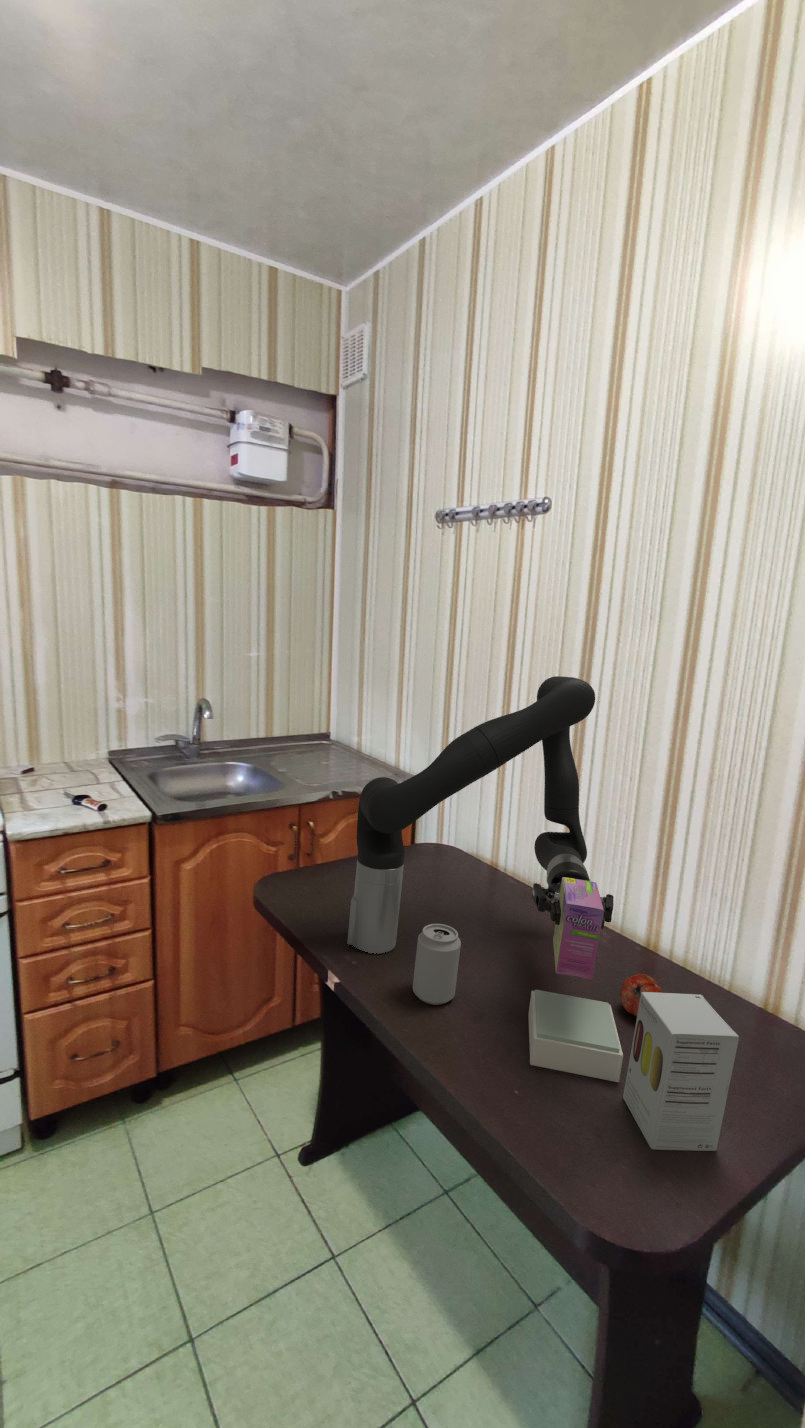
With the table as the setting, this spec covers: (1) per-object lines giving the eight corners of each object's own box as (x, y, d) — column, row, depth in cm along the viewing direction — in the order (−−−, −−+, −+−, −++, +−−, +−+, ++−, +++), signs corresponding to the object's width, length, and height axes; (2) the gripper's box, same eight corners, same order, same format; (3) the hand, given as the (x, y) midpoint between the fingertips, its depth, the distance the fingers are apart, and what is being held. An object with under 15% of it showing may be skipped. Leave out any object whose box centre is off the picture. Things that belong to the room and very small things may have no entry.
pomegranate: (625, 1009, 119) (602, 989, 113) (649, 977, 120) (627, 956, 114) (657, 1037, 113) (635, 1018, 107) (682, 1003, 114) (661, 983, 108)
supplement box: (620, 1096, 93) (638, 989, 90) (681, 1098, 94) (701, 991, 91) (651, 1152, 84) (672, 1033, 81) (719, 1153, 85) (741, 1035, 82)
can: (459, 989, 116) (466, 927, 114) (448, 1012, 109) (456, 946, 107) (419, 978, 118) (426, 917, 117) (406, 1000, 111) (413, 935, 110)
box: (593, 981, 99) (604, 908, 97) (555, 974, 100) (565, 902, 98) (587, 947, 109) (596, 881, 107) (552, 941, 110) (561, 876, 108)
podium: (530, 1064, 98) (534, 1034, 97) (528, 1014, 111) (532, 987, 110) (618, 1082, 96) (623, 1051, 95) (606, 1028, 109) (611, 1001, 108)
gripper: (531, 855, 120) (535, 893, 103) (611, 866, 118) (628, 907, 101) (526, 893, 121) (529, 937, 104) (605, 905, 119) (621, 951, 102)
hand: (578, 922), depth 103 cm, fingers closed on box, 5 cm apart
